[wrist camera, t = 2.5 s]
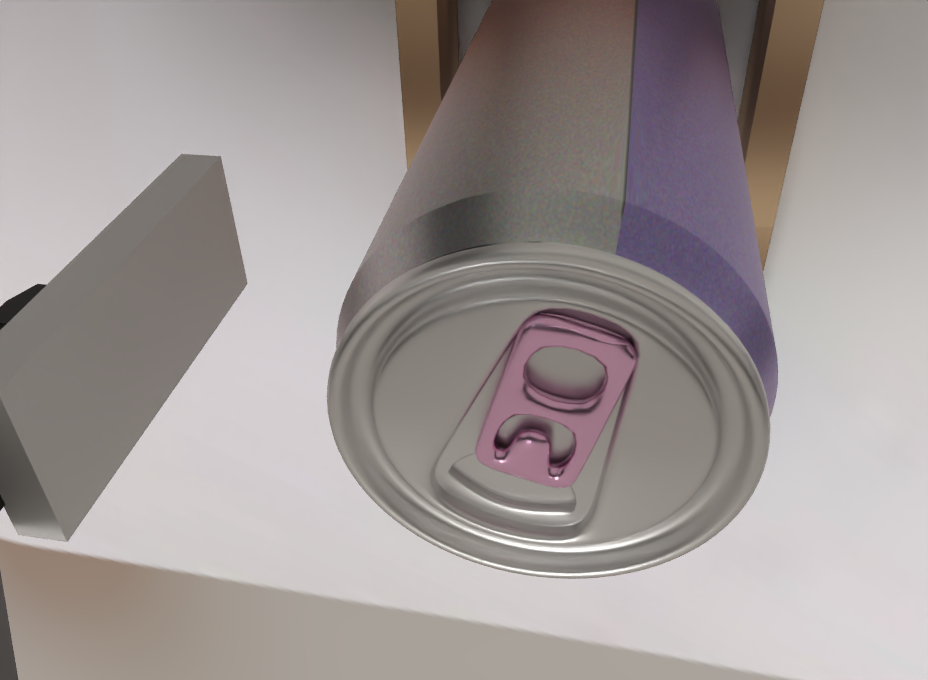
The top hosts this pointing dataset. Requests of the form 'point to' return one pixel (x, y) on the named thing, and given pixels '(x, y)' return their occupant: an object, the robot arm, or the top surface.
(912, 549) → the top surface
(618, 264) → the beverage can
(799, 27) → the holder board
